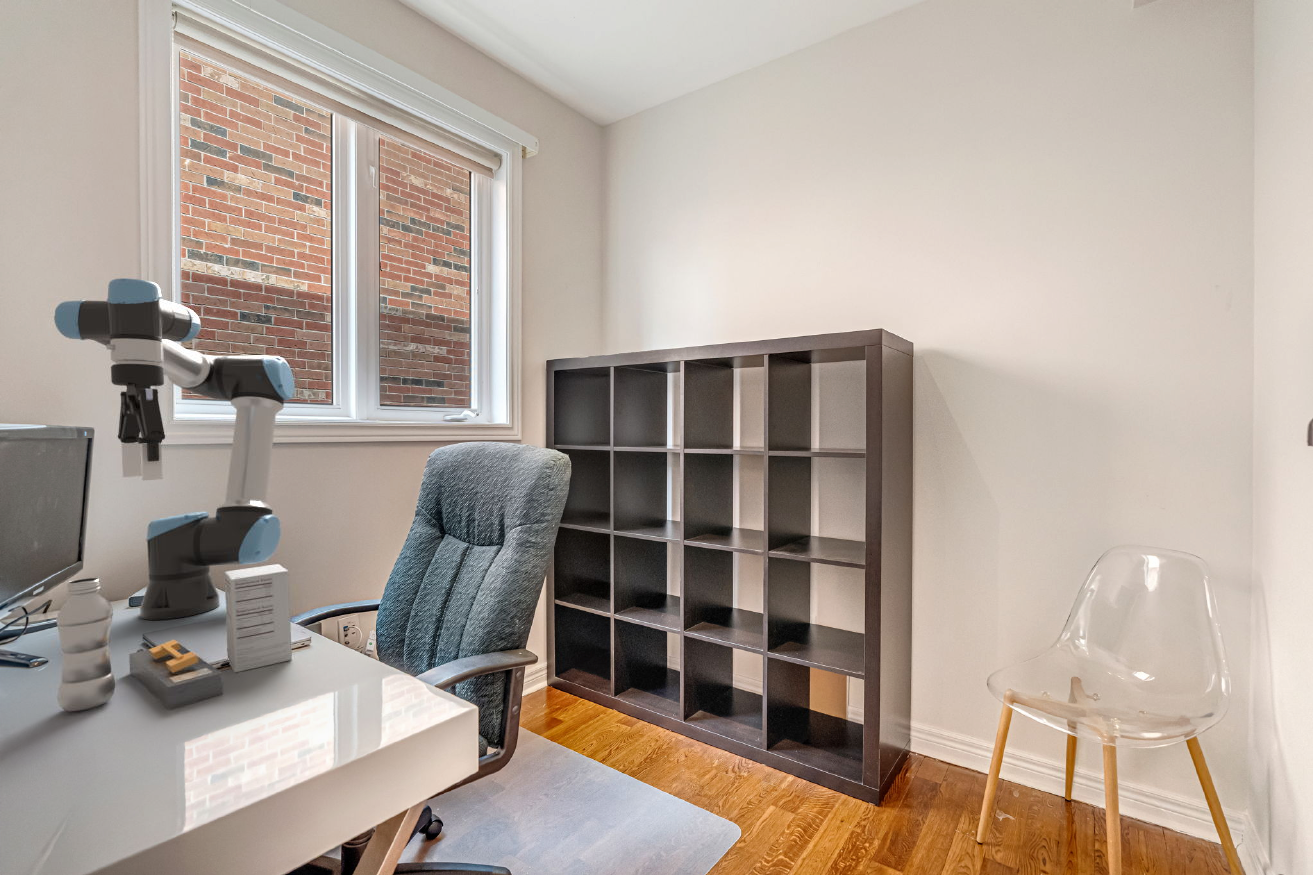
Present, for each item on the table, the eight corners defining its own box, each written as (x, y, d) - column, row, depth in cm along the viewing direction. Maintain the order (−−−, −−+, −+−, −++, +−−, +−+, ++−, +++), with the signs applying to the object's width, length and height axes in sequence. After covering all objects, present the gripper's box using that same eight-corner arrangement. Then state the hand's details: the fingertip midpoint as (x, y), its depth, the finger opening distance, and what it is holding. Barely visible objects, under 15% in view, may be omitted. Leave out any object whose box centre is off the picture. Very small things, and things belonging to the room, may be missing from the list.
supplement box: (293, 660, 115) (290, 570, 115) (233, 674, 109) (230, 579, 109) (282, 647, 123) (280, 562, 122) (226, 659, 116) (223, 570, 116)
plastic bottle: (50, 711, 96) (45, 583, 95) (105, 694, 102) (100, 573, 101) (68, 720, 93) (63, 587, 92) (124, 702, 99) (119, 577, 98)
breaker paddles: (151, 655, 108) (148, 647, 108) (175, 645, 111) (173, 637, 111) (172, 672, 100) (169, 663, 100) (198, 661, 103) (196, 652, 103)
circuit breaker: (116, 660, 117) (115, 641, 116) (162, 649, 122) (162, 631, 122) (169, 709, 95) (168, 686, 95) (222, 693, 101) (221, 671, 101)
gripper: (95, 367, 120) (99, 476, 120) (129, 357, 104) (134, 483, 105) (144, 369, 126) (148, 473, 126) (183, 360, 110) (187, 479, 111)
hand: (142, 478), depth 115 cm, fingers open, 13 cm apart
